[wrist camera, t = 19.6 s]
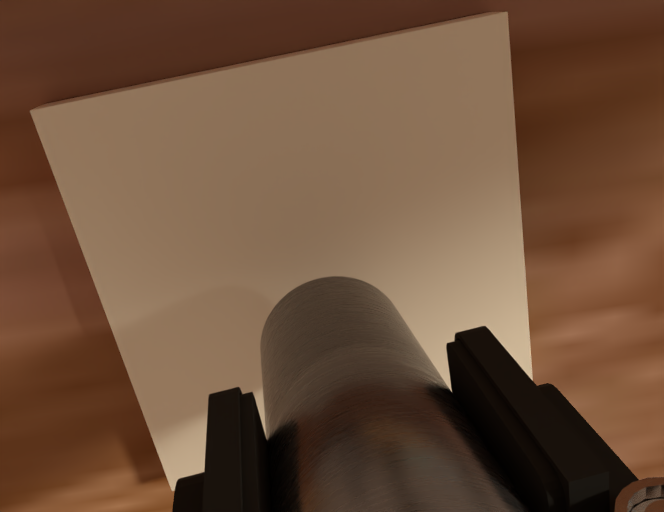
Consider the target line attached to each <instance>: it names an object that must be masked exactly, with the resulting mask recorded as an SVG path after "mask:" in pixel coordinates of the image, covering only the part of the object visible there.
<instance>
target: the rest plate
mask: <svg viewBox="0 0 664 512" xmlns="http://www.w3.org/2000/svg"><path fill="white" fill-rule="evenodd" d="M30 113H31V116H32V118H33V121H34V124H35V126H36V129H37V132H38V134H39V137H40V140H41V142H42V145H43V148H44V150H45V153H46V156H47V158H48V161H49V164H50V166H51V169H52V172H53V175H54V177H55V180H56V183H57V185H58V188H59V191H60V193H61V196H62V199H63V201H64V204H65V207H66V209H67V212H68V215H69V217H70V220H71V223H72V225H73V228H74V231H75V233H76V236H77V239H78V241H79V244H80V247H81V249H82V252H83V255H84V257H85V260H86V263H87V265H88V268H89V271H90V273H91V276H92V279H93V281H94V284H95V287H96V289H97V292H98V295H99V297H100V300H101V303H102V305H103V308H104V311H105V314H106V316H107V319H108V322H109V324H110V327H111V330H112V332H113V335H114V338H115V340H116V343H117V346H118V348H119V351H120V354H121V356H122V359H123V362H124V364H125V367H126V370H127V372H128V375H129V378H130V380H131V383H132V386H133V388H134V391H135V394H136V396H137V399H138V402H139V404H140V407H141V410H142V412H143V415H144V418H145V420H146V423H147V426H148V428H149V431H150V434H151V436H152V439H153V442H154V444H155V447H156V450H157V453H158V455H159V458H160V461H161V463H162V466H163V469H164V471H165V474H166V477H167V479H168V482H169V485H170V487H171V490H172V491H174V490H175V487H176V482H177V480H178V479H179V478H183V477H187V476H191V475H195V474H199V473H202V472H204V468H205V450H206V432H207V414H208V397H209V394H212V393H216V392H220V391H224V390H228V389H232V388H236V387H240V389H241V391H242V394H245V393H249V392H253V394H254V397H255V400H256V404H257V407H258V411H259V415H260V418H261V422H262V425H263V429H264V432H265V436H266V429H265V414H264V399H263V384H262V369H261V354H260V341H261V335H262V331H263V328H264V325H265V322H266V320H267V318H268V316H269V314H270V313H271V311H272V310H273V308H274V307H275V305H276V304H277V303H278V302H279V301H280V300H281V299H282V298H283V297H284V296H285V295H286V294H287V293H289V292H290V291H292V290H293V289H295V288H296V287H298V286H300V285H302V284H304V283H306V282H309V281H311V280H314V279H318V278H323V277H331V276H344V277H351V278H355V279H359V280H362V281H364V282H367V283H369V284H371V285H373V286H374V287H376V288H378V289H379V290H380V291H381V292H383V293H384V294H385V295H386V296H387V297H388V298H389V299H390V300H391V302H392V303H393V305H394V306H395V307H396V309H397V310H398V312H399V313H400V315H401V316H402V318H403V319H404V321H405V322H406V324H407V325H408V327H409V328H410V330H411V332H412V333H413V335H414V336H415V338H416V339H417V341H418V342H419V344H420V345H421V347H422V348H423V350H424V351H425V353H426V354H427V356H428V357H429V359H430V360H431V362H432V363H433V365H434V366H435V368H436V369H437V371H438V372H439V374H440V375H441V377H442V378H443V380H444V381H445V383H446V384H447V386H448V387H449V389H450V390H451V392H452V389H451V381H450V373H449V366H448V358H447V350H446V344H447V343H449V342H453V341H455V340H454V338H455V334H456V333H457V332H461V331H465V330H469V329H473V328H477V327H481V326H486V327H487V328H488V329H489V330H490V331H491V332H492V334H493V335H494V336H495V337H496V338H497V339H498V341H499V342H500V343H501V344H502V345H503V347H504V348H505V349H506V350H507V351H508V352H509V354H510V355H511V356H512V357H513V358H514V360H515V361H516V362H517V363H518V364H519V365H520V367H521V368H522V369H523V370H524V371H525V373H526V374H527V375H528V376H529V377H530V378H531V380H532V381H533V379H532V364H531V349H530V334H529V320H528V305H527V290H526V275H525V260H524V246H523V231H522V216H521V201H520V186H519V172H518V157H517V142H516V127H515V112H514V98H513V83H512V68H511V53H510V38H509V24H508V12H487V13H482V14H477V15H473V16H468V17H463V18H458V19H453V20H448V21H444V22H439V23H434V24H429V25H424V26H419V27H414V28H410V29H405V30H400V31H395V32H390V33H385V34H381V35H376V36H371V37H366V38H361V39H356V40H352V41H347V42H342V43H337V44H332V45H327V46H323V47H318V48H313V49H308V50H303V51H298V52H294V53H289V54H284V55H279V56H274V57H269V58H265V59H260V60H255V61H250V62H245V63H240V64H236V65H231V66H226V67H221V68H216V69H211V70H207V71H202V72H197V73H192V74H187V75H182V76H178V77H173V78H168V79H163V80H158V81H153V82H149V83H144V84H139V85H134V86H129V87H124V88H120V89H115V90H110V91H105V92H100V93H95V94H91V95H86V96H81V97H76V98H71V99H66V100H62V101H57V102H52V103H47V104H43V105H41V106H39V107H37V108H34V109H32V110H30Z"/></svg>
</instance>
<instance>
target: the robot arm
mask: <svg viewBox="0 0 664 512" xmlns="http://www.w3.org/2000/svg"><path fill="white" fill-rule="evenodd" d="M454 340H455V341H453V342H449V343H447V344H446V350H447V358H448V366H449V373H450V381H451V389H452V393H453V395H454V396H455V398H456V399H457V401H458V402H459V404H460V405H461V407H462V408H463V410H464V411H465V413H466V414H467V416H468V417H469V419H470V420H471V422H472V423H473V425H474V426H475V428H476V429H477V431H478V432H479V434H480V435H481V437H482V438H483V440H484V442H485V443H486V445H487V446H488V448H489V449H490V451H491V452H492V454H493V455H494V457H495V458H496V460H497V461H498V463H499V464H500V466H501V467H502V469H503V470H504V472H505V473H506V475H507V476H508V478H509V479H510V481H511V482H512V484H513V485H514V487H515V488H516V490H517V491H518V493H519V494H520V496H521V497H522V499H523V500H524V502H525V503H526V505H527V506H528V508H529V509H530V511H531V512H664V477H652V478H645V479H641V480H638V479H637V477H636V476H635V475H634V474H633V473H632V472H631V471H630V470H629V468H628V467H627V466H626V465H625V464H624V463H623V462H622V461H621V460H620V458H619V457H618V456H617V455H616V454H615V453H614V452H613V451H612V449H611V448H610V447H609V446H608V445H607V444H606V443H605V442H604V441H603V439H602V438H601V437H600V436H599V435H598V434H597V433H596V432H595V430H594V429H593V428H592V427H591V426H590V425H589V424H588V423H587V422H586V420H585V419H584V418H583V417H582V416H581V415H580V414H579V413H578V411H577V410H576V409H575V408H574V407H573V406H572V405H571V404H570V403H569V401H568V400H567V399H566V398H565V397H564V396H563V395H562V394H561V392H560V391H559V390H558V389H557V388H556V387H554V386H553V385H552V384H548V383H546V384H543V385H539V386H536V384H535V383H534V382H533V381H532V380H531V378H530V377H529V376H528V375H527V374H526V373H525V371H524V370H523V369H522V368H521V367H520V365H519V364H518V363H517V362H516V361H515V360H514V358H513V357H512V356H511V355H510V354H509V352H508V351H507V350H506V349H505V348H504V347H503V345H502V344H501V343H500V342H499V341H498V339H497V338H496V337H495V336H494V335H493V334H492V332H491V331H490V330H489V329H488V328H487V327H486V326H481V327H477V328H473V329H469V330H465V331H461V332H457V333H456V334H455V338H454ZM172 512H272V505H271V491H270V476H269V462H268V448H267V439H266V436H265V432H264V429H263V425H262V422H261V418H260V415H259V411H258V407H257V404H256V400H255V397H254V394H253V392H249V393H245V394H242V391H241V389H240V387H236V388H232V389H228V390H224V391H220V392H216V393H212V394H209V397H208V414H207V432H206V450H205V468H204V472H202V473H199V474H195V475H191V476H187V477H183V478H179V479H178V480H177V482H176V487H175V493H174V502H173V511H172Z"/></svg>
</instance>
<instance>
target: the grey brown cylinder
mask: <svg viewBox="0 0 664 512" xmlns="http://www.w3.org/2000/svg"><path fill="white" fill-rule="evenodd" d="M260 354H261V369H262V384H263V399H264V414H265V429H266V439H267V448H268V462H269V476H270V491H271V505H272V512H531V511H530V509H529V508H528V506H527V505H526V503H525V502H524V500H523V499H522V497H521V496H520V494H519V493H518V491H517V490H516V488H515V487H514V485H513V484H512V482H511V481H510V479H509V478H508V476H507V475H506V473H505V472H504V470H503V469H502V467H501V466H500V464H499V463H498V461H497V460H496V458H495V457H494V455H493V454H492V452H491V451H490V449H489V448H488V446H487V445H486V443H485V442H484V440H483V438H482V437H481V435H480V434H479V432H478V431H477V429H476V428H475V426H474V425H473V423H472V422H471V420H470V419H469V417H468V416H467V414H466V413H465V411H464V410H463V408H462V407H461V405H460V404H459V402H458V401H457V399H456V398H455V396H454V395H453V393H452V392H451V390H450V389H449V387H448V386H447V384H446V383H445V381H444V380H443V378H442V377H441V375H440V374H439V372H438V371H437V369H436V368H435V366H434V365H433V363H432V362H431V360H430V359H429V357H428V356H427V354H426V353H425V351H424V350H423V348H422V347H421V345H420V344H419V342H418V341H417V339H416V338H415V336H414V335H413V333H412V332H411V330H410V328H409V327H408V325H407V324H406V322H405V321H404V319H403V318H402V316H401V315H400V313H399V312H398V310H397V309H396V307H395V306H394V305H393V303H392V302H391V300H390V299H389V298H388V297H387V296H386V295H385V294H384V293H383V292H381V291H380V290H379V289H378V288H376V287H374V286H373V285H371V284H369V283H367V282H364V281H362V280H359V279H355V278H351V277H344V276H331V277H323V278H318V279H314V280H311V281H309V282H306V283H304V284H302V285H300V286H298V287H296V288H295V289H293V290H292V291H290V292H289V293H287V294H286V295H285V296H284V297H283V298H282V299H281V300H280V301H279V302H278V303H277V304H276V305H275V307H274V308H273V310H272V311H271V313H270V314H269V316H268V318H267V320H266V322H265V325H264V328H263V331H262V335H261V341H260Z"/></svg>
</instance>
